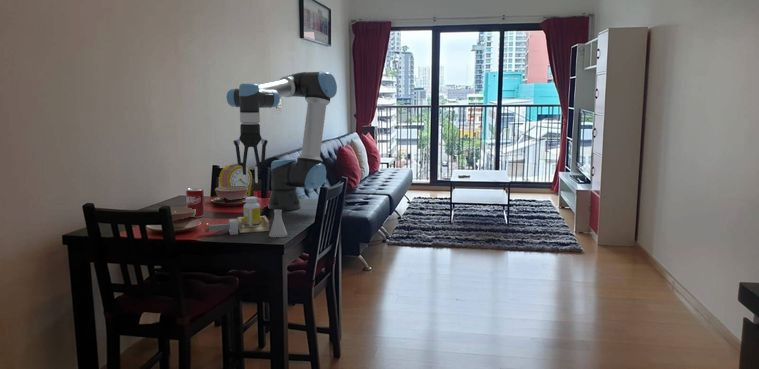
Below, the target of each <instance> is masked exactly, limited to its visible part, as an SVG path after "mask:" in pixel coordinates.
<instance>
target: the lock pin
mask: <svg viewBox="0 0 759 369" xmlns="http://www.w3.org/2000/svg"><path fill="white" fill-rule="evenodd" d="M203 226H204V234H206V233H210V231H220V230H221V231H223V230H229V229H230V224H229V223H216V224H209V223H208V222H206V223H205V222H204V223H203ZM239 229H240V223H238V230H239Z"/></svg>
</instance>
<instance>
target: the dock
mask: <svg viewBox="0 0 759 369" xmlns="http://www.w3.org/2000/svg"><path fill="white" fill-rule="evenodd" d="M236 219H237V221H238V223H240V229H238V232H239V233H240V234H241V233H254V232H255V233H256V232H270V230H271V229H270V221H269V218H267V216H266V215H260V226H258V227H246V226H244V216H238V217H236Z"/></svg>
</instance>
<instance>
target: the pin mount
mask: <svg viewBox="0 0 759 369" xmlns="http://www.w3.org/2000/svg"><path fill="white" fill-rule="evenodd" d="M228 224H230V229H228V231H229V235H231V236H232V235H239V229H238V219H237V218H230V219H228Z"/></svg>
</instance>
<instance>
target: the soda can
mask: <svg viewBox="0 0 759 369" xmlns="http://www.w3.org/2000/svg"><path fill="white" fill-rule="evenodd" d="M204 193H205V192H204V189H203V188H199V187H197V188H196V187H194V188H193V187H192V188H188V189H187V188H186V190H185V199H186V209H187V208H192V209H196V215H195V218H196V219H197V218H198V219H199V218H203V217H204V216H205V196H204V195H205V194H204ZM195 218H194V219H195Z"/></svg>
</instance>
